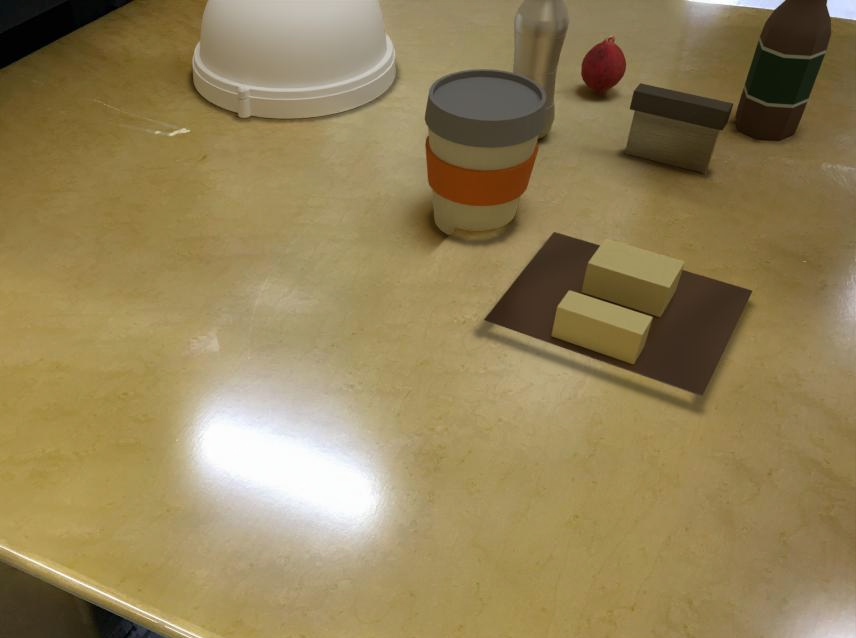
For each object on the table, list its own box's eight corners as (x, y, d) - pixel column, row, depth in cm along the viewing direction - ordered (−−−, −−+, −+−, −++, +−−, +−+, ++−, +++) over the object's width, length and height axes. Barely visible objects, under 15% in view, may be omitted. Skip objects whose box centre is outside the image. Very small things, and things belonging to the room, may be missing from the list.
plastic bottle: (525, 151, 114) (549, -13, 100) (489, 130, 118) (508, -30, 104) (561, 137, 116) (591, -25, 103) (525, 117, 121) (549, -41, 107)
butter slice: (644, 347, 84) (653, 316, 81) (633, 365, 82) (642, 334, 80) (562, 319, 87) (569, 289, 85) (550, 336, 85) (556, 306, 83)
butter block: (675, 291, 90) (685, 261, 87) (660, 317, 87) (669, 287, 84) (598, 267, 93) (605, 237, 91) (581, 292, 90) (587, 262, 88)
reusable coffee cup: (511, 260, 97) (530, 131, 86) (402, 235, 101) (408, 109, 90) (541, 203, 105) (562, 78, 95) (439, 182, 109) (448, 60, 99)
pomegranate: (599, 106, 122) (611, 48, 117) (567, 92, 126) (578, 34, 120) (628, 94, 125) (641, 37, 119) (596, 80, 128) (607, 24, 123)
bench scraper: (713, 168, 110) (733, 103, 104) (707, 177, 108) (728, 111, 103) (625, 146, 114) (640, 82, 108) (618, 154, 113) (633, 90, 107)
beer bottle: (721, 117, 119) (781, -81, 103) (775, 110, 120) (843, -86, 104) (752, 144, 114) (820, -60, 97) (808, 137, 115) (886, -66, 98)
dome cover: (257, 18, 148) (251, -74, 138) (428, 47, 138) (434, -51, 128) (149, 98, 128) (133, -4, 118) (340, 138, 118) (340, 30, 108)
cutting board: (748, 302, 91) (753, 290, 90) (697, 408, 80) (702, 396, 79) (551, 242, 99) (553, 231, 98) (481, 331, 88) (483, 319, 87)
